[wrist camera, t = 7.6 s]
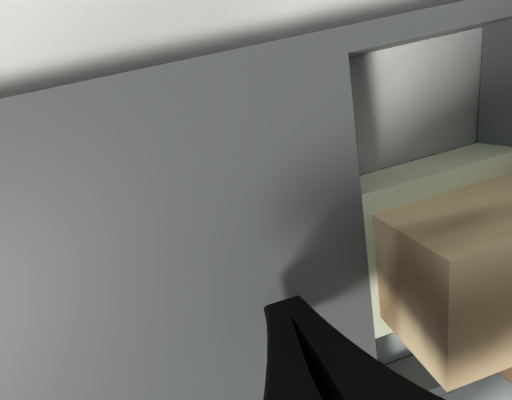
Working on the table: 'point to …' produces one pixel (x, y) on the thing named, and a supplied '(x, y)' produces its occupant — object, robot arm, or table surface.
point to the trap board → (212, 211)
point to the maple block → (450, 279)
